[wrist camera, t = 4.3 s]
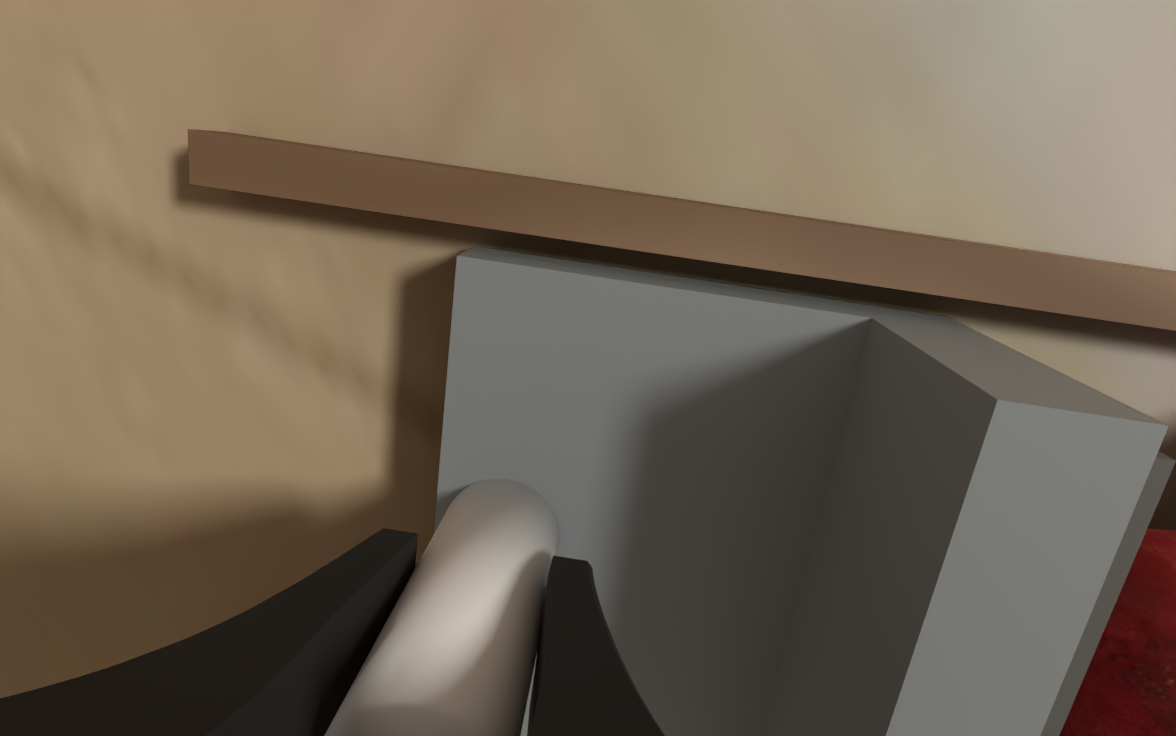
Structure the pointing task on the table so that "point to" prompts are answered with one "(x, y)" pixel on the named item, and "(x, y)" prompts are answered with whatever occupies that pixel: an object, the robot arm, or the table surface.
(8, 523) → the table surface
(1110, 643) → the red rounded piece
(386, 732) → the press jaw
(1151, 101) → the table surface
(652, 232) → the frame
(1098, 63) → the table surface
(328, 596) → the robot arm
